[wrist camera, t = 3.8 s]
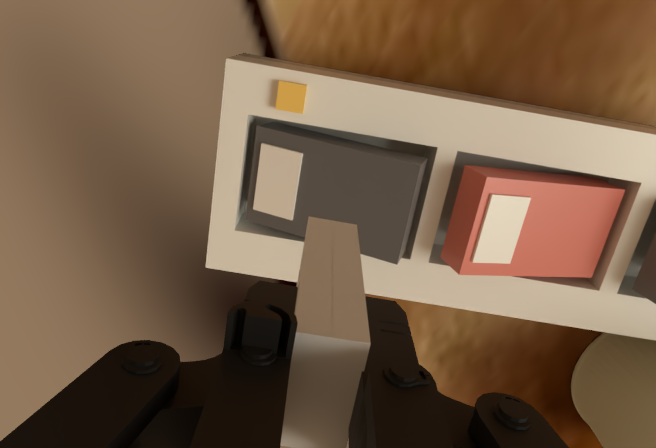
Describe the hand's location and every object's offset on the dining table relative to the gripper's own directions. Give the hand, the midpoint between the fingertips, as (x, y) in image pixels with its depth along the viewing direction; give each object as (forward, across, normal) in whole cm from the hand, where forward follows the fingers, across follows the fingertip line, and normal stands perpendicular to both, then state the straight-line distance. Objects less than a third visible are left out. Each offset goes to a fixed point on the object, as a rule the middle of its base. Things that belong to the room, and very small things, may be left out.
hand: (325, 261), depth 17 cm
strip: (+13, +14, 0) cm, 19 cm away
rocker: (+9, 0, 0) cm, 9 cm away
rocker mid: (+9, +10, 0) cm, 13 cm away
